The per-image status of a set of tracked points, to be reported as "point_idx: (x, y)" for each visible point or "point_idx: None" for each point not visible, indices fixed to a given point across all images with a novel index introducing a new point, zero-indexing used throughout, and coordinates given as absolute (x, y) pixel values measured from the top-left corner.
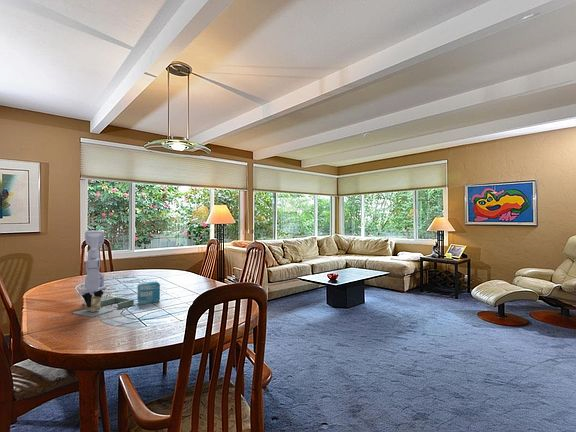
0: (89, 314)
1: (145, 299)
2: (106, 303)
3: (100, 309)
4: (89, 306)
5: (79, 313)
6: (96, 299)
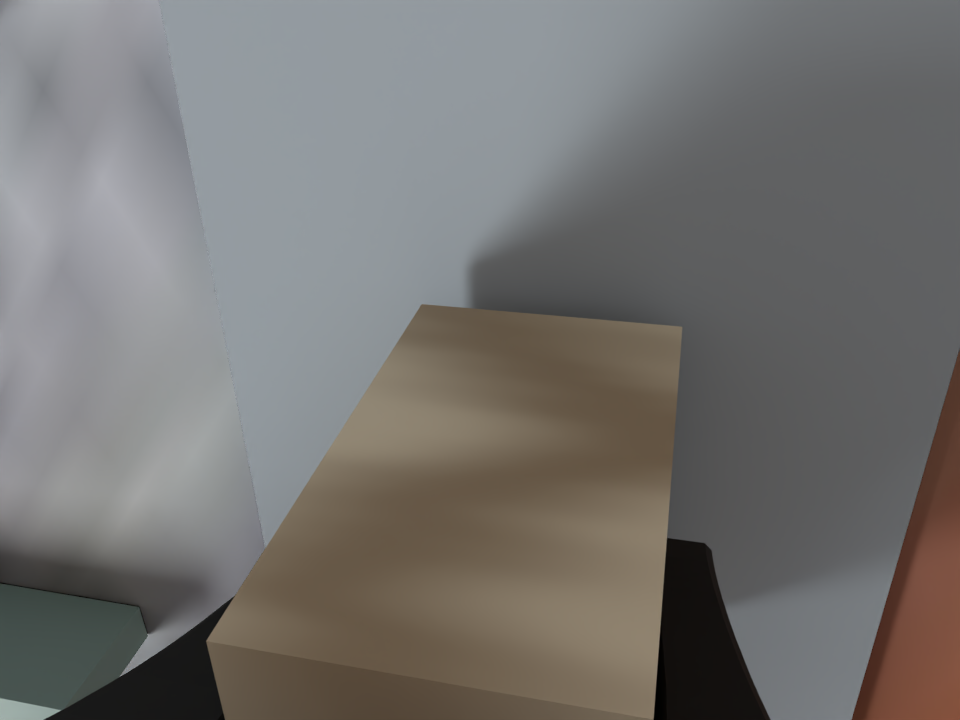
0: (860, 272)
1: None
2: (14, 614)
3: (334, 397)
4: (706, 561)
5: (854, 606)
6: (460, 609)
